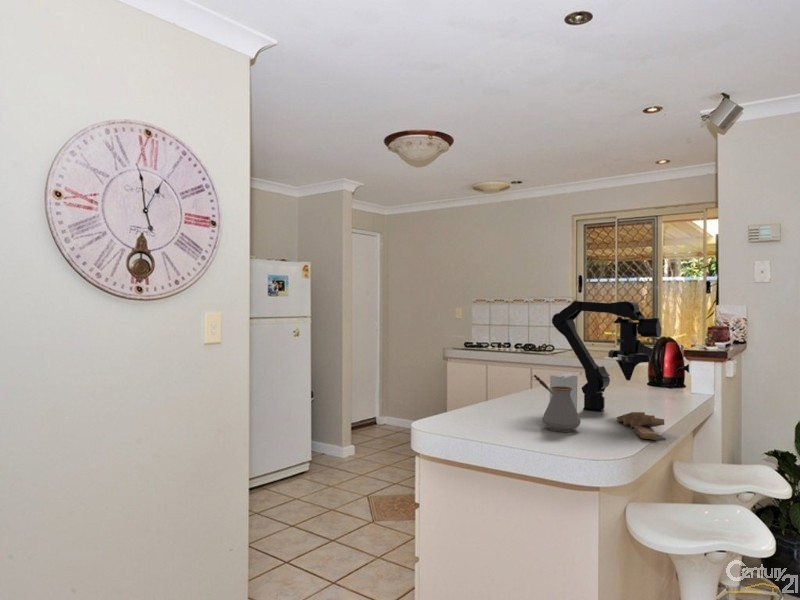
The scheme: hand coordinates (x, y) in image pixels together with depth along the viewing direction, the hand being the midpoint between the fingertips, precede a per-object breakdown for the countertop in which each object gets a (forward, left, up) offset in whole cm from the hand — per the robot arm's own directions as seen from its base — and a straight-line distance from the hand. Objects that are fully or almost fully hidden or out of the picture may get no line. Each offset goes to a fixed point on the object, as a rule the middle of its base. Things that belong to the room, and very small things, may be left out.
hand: (628, 380), depth 192 cm
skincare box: (-19, -18, -12) cm, 29 cm away
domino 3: (+4, -24, -11) cm, 26 cm away
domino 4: (+6, -28, -11) cm, 31 cm away
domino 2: (+2, -19, -11) cm, 22 cm away
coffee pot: (-20, -32, -12) cm, 40 cm away
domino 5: (+5, -27, -12) cm, 30 cm away
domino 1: (0, -15, -11) cm, 19 cm away
